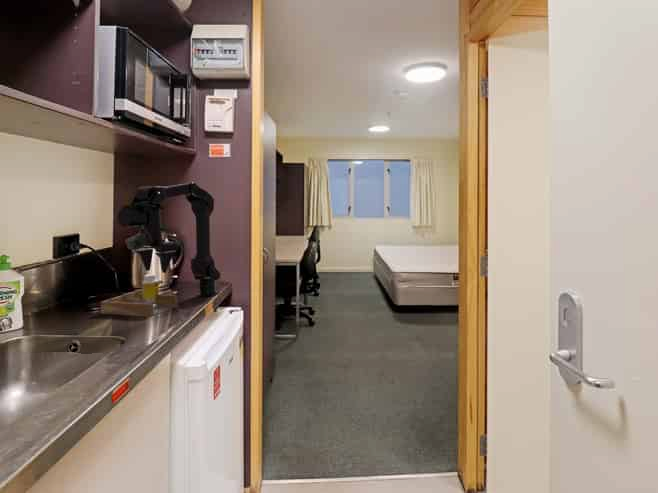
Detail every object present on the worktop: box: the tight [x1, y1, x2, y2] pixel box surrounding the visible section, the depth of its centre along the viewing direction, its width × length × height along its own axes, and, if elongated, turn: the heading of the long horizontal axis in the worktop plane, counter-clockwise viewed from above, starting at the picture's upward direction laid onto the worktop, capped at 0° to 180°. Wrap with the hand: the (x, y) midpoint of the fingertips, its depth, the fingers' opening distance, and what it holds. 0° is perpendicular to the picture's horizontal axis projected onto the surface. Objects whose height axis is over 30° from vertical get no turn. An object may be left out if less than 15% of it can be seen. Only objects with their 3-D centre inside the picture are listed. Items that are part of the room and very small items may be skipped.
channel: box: [99, 288, 178, 318], centre depth 135 cm, size 20×20×4 cm
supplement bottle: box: [141, 273, 160, 304], centre depth 142 cm, size 6×6×10 cm
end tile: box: [153, 305, 176, 317], centre depth 130 cm, size 11×7×1 cm, turn 165°
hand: (155, 271), depth 128 cm, fingers open, 9 cm apart
